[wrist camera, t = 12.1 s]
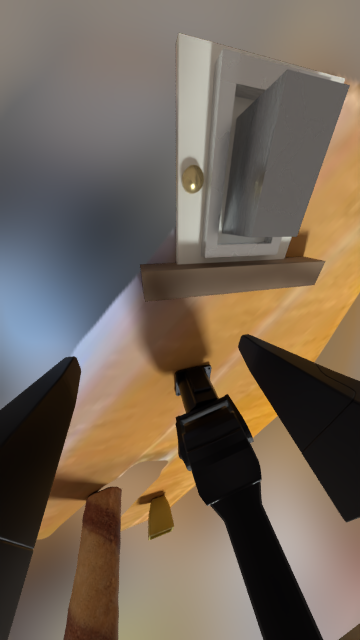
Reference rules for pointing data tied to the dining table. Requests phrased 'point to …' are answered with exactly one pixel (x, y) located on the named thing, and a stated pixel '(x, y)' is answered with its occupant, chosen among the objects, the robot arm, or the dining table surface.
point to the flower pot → (159, 518)
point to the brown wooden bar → (226, 277)
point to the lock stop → (280, 154)
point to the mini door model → (216, 145)
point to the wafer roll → (97, 571)
